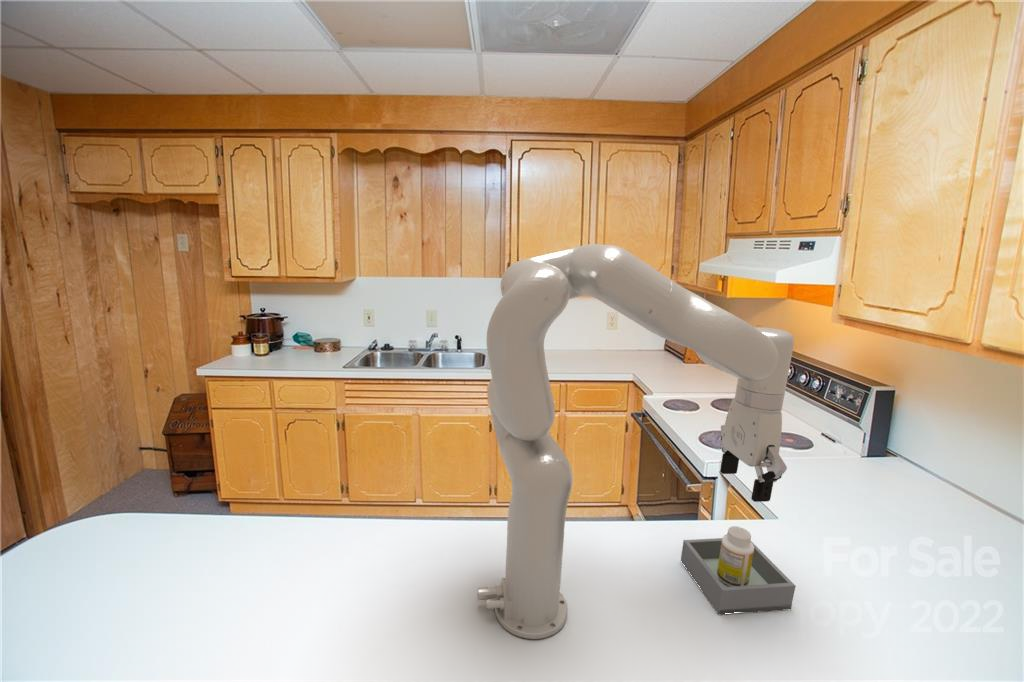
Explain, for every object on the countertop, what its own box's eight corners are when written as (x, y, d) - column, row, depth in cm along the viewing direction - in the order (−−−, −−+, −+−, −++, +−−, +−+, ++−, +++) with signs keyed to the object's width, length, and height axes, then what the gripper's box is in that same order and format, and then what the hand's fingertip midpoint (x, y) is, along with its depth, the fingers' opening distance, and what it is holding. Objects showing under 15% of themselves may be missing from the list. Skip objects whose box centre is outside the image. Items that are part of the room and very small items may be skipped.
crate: (718, 615, 83) (722, 590, 82) (680, 561, 96) (683, 540, 95) (790, 609, 85) (795, 585, 84) (743, 558, 98) (746, 536, 97)
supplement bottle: (737, 569, 93) (745, 523, 91) (754, 589, 88) (762, 541, 86) (710, 569, 93) (718, 523, 91) (726, 590, 87) (733, 541, 85)
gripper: (712, 382, 91) (700, 464, 94) (771, 416, 74) (754, 513, 77) (748, 383, 92) (734, 463, 95) (814, 416, 75) (795, 512, 79)
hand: (743, 486), depth 86 cm, fingers open, 9 cm apart
